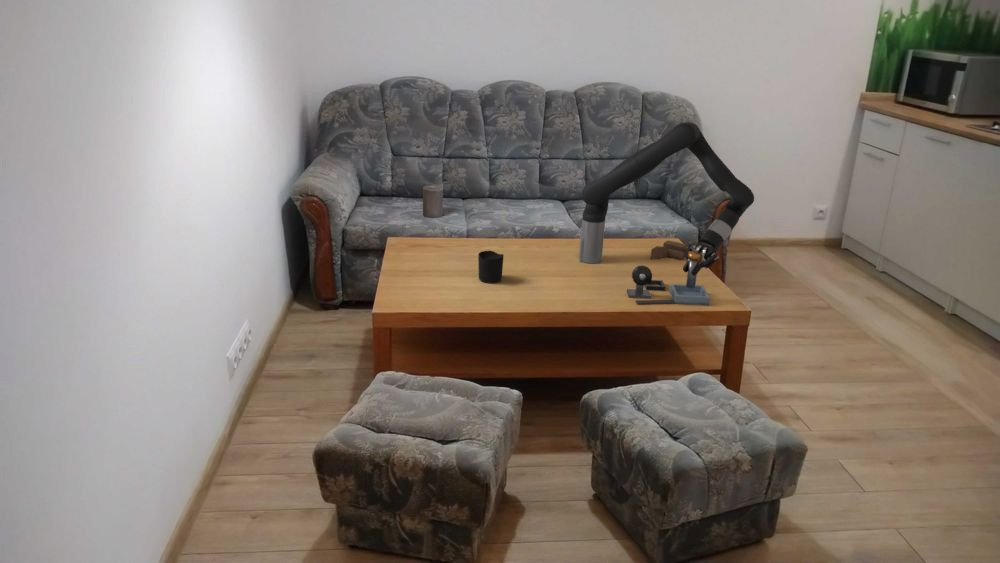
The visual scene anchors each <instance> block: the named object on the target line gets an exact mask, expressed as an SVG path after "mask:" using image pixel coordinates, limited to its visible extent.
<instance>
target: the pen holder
mask: <svg viewBox="0 0 1000 563" xmlns="http://www.w3.org/2000/svg"><path fill="white" fill-rule="evenodd" d="M504 255H505V254H504V253H497V252H496V251H493V250H483V251H480V252H478V255H477V256H478V261H477V262H478V280H479V281H481V282H482V283H487V284H497V283H500V282H501V281H502V279H503V278H502V277H503V269H504V268H503V264H504Z"/></svg>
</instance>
